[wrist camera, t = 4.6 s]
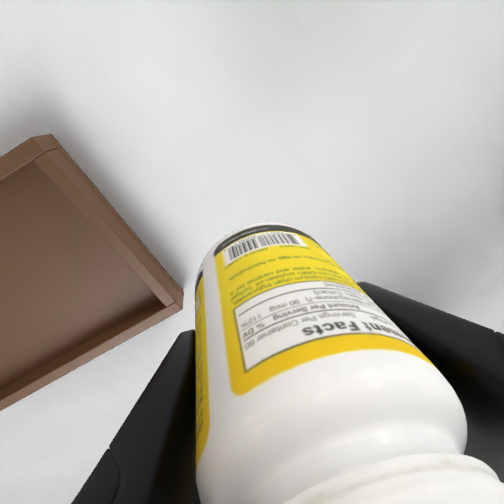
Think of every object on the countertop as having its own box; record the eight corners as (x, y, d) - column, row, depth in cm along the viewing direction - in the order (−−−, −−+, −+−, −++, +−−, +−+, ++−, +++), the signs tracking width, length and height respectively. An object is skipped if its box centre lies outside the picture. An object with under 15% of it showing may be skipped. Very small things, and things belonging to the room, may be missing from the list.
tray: (184, 292, 21) (183, 309, 20) (-4, 398, 23) (-22, 423, 21) (51, 133, 16) (32, 136, 14) (-192, 288, 17) (-240, 310, 15)
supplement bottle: (268, 348, 12) (391, 749, 4) (168, 299, 10) (85, 851, 3) (350, 263, 11) (706, 616, 3) (253, 188, 9) (567, 623, 1)
